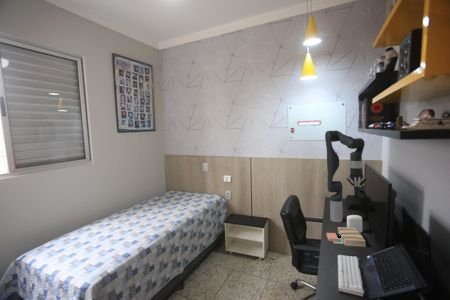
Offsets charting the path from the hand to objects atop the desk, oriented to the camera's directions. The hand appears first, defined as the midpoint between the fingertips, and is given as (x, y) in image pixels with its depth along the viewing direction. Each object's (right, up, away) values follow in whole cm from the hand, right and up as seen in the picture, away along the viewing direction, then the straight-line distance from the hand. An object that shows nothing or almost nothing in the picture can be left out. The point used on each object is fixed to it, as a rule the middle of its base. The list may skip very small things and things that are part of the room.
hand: (356, 191), depth 158 cm
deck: (-5, -33, -2) cm, 33 cm away
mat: (-15, -33, -1) cm, 36 cm away
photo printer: (+4, -32, +9) cm, 33 cm away
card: (-17, -31, 0) cm, 35 cm away
